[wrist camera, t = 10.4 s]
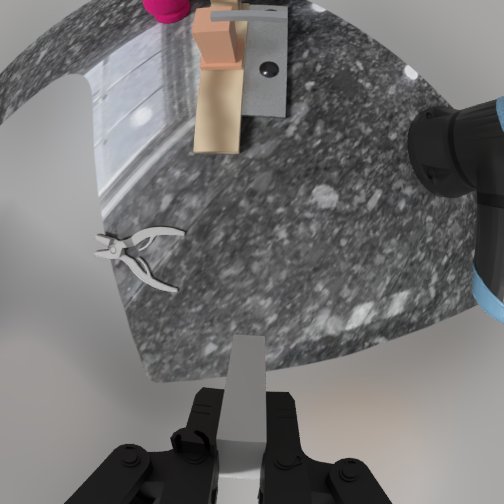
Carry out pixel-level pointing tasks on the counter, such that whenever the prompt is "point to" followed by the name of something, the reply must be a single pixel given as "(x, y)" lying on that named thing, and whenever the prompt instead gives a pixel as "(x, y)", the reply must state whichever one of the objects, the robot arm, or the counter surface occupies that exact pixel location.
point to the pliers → (118, 250)
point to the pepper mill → (167, 9)
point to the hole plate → (265, 67)
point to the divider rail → (221, 100)
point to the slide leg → (225, 35)
